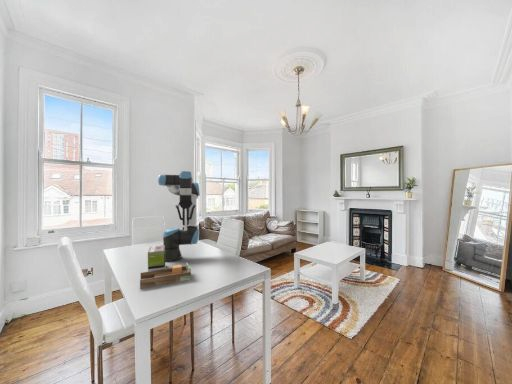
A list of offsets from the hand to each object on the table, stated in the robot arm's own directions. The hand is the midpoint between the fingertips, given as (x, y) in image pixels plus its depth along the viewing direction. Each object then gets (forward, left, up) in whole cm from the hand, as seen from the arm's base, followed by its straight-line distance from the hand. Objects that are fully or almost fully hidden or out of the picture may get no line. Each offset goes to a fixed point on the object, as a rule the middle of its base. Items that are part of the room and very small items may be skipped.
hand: (185, 230), depth 145 cm
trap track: (+9, -13, -27) cm, 32 cm away
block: (+7, -6, -25) cm, 27 cm away
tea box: (-11, -17, -28) cm, 34 cm away
